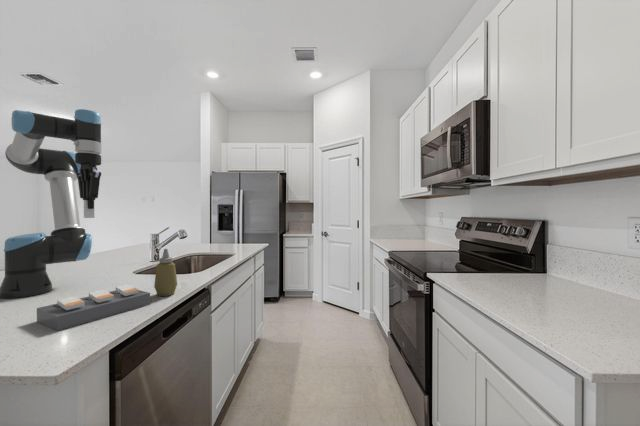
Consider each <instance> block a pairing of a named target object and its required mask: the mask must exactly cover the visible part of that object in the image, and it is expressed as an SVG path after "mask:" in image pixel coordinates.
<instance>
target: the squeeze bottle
mask: <svg viewBox="0 0 640 426" xmlns="http://www.w3.org/2000/svg"><path fill="white" fill-rule="evenodd" d="M162 253H163V254H162V256H161V257H160V258H158V262H159V263H158V264H157V265H156V267H155V275H154V277H155V278H154V290H155V292H156V294H157V296H158V297H168V296H171V295H174V294H175V293H176V289H177V286H178V279H177V278H178V276H177V271H176V270H177V269H176V264H175V263H174V262H173V257H172V256H170V254H169V249H168V248H164V249H163V252H162Z"/></svg>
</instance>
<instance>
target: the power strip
mask: <svg viewBox="0 0 640 426" xmlns="http://www.w3.org/2000/svg"><path fill="white" fill-rule="evenodd" d="M108 292H109V293H110V294H112V295H113V296H114V298H113V299H112V300H108V301H104V302H100V303H97V302H96V301H95V300H93V299H92V298H90V297H89V295H88V296H84V297H79V299H81V300H82V301H84V302H85V305H84V306H83V307H79V308H74V309H70V310H65V309H64V308H62V307H61V306H60V305H58V304H57V303H54V304H49V305H46V306H40V307H36V322H37V323H39V324H41V325H44V326H46V327H47V328H50V329H52V330H55V331H57V332H58V331H62V330H66V329H69V328H73V327H76V326H79V325H82V324H83V325H84V324H87V323H90V322H92V321H93V322H94V321H96V320H100V319H103V318H107V317H111V316H114V315H117V314H120V313H121V314H122V313H125V312H128V311H130V310H134V309H139V308H142V307H145V306H148V305H151V292H148V291H144V290H141V289H140V290H139V293H136V294H132V295H128V296H124V295H122V294H121V293H119V292H118V291H116V289H115V290H112V291H111V290H110V291H108Z"/></svg>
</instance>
